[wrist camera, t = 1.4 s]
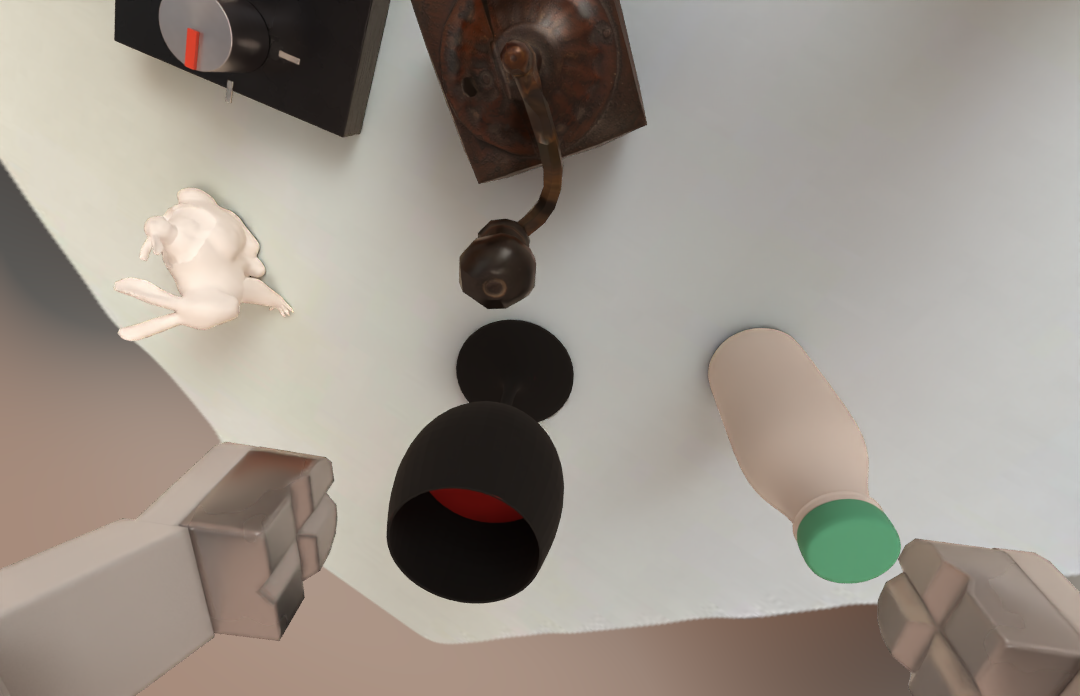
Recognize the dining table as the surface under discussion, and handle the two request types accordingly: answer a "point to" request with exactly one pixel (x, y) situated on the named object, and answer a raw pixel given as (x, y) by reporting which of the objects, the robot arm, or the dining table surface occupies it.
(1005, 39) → the dining table surface
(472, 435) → the wine glass
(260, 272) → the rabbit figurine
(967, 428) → the dining table surface
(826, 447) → the milk bottle
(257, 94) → the plate
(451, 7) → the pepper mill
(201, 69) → the hob knob
